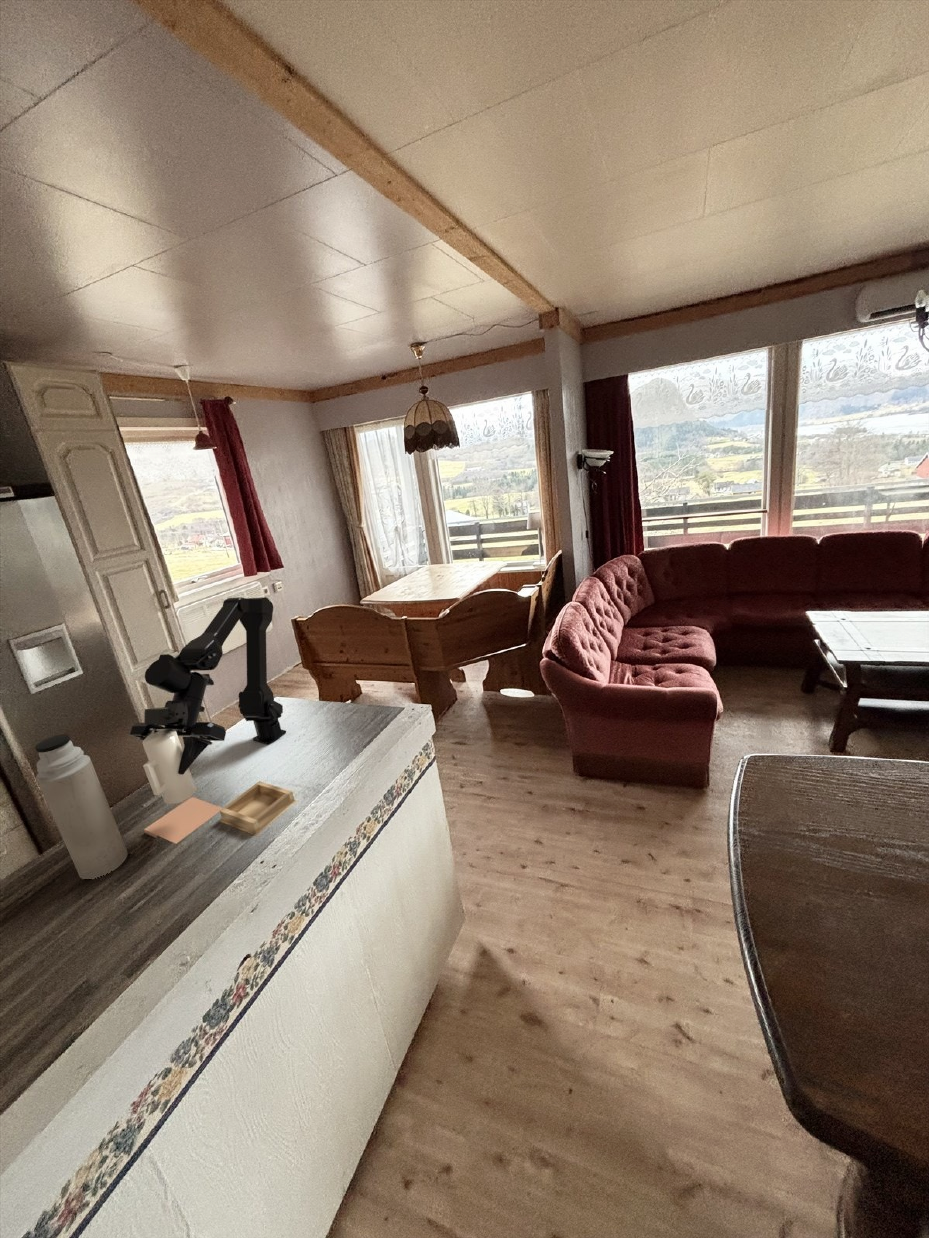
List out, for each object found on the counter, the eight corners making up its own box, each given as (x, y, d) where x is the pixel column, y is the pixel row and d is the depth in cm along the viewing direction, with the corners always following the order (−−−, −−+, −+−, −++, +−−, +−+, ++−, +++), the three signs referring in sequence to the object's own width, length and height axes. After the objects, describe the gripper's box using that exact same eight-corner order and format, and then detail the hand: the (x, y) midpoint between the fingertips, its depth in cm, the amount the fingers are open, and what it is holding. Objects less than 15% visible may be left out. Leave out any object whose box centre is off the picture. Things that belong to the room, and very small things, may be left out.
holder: (220, 824, 104) (216, 811, 103) (263, 792, 114) (259, 779, 113) (257, 839, 99) (253, 825, 98) (298, 803, 108) (295, 790, 107)
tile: (145, 833, 104) (144, 829, 104) (193, 800, 113) (191, 796, 113) (177, 847, 99) (175, 843, 99) (224, 812, 108) (223, 808, 108)
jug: (177, 784, 107) (157, 729, 103) (201, 785, 106) (182, 729, 101) (149, 811, 100) (126, 752, 95) (175, 811, 99) (153, 752, 94)
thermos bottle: (101, 848, 101) (52, 729, 92) (137, 847, 100) (90, 727, 91) (68, 880, 94) (11, 753, 85) (106, 880, 93) (52, 752, 84)
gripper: (121, 689, 102) (94, 767, 95) (202, 687, 99) (180, 768, 92) (160, 704, 112) (138, 775, 105) (234, 702, 108) (217, 776, 102)
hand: (166, 774), depth 101 cm, fingers closed on jug, 6 cm apart
